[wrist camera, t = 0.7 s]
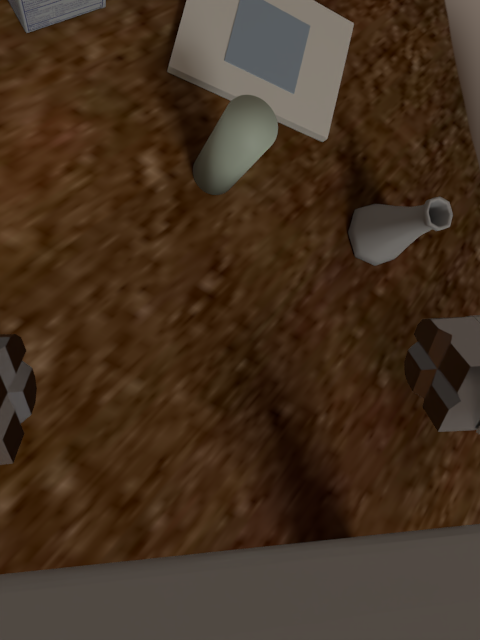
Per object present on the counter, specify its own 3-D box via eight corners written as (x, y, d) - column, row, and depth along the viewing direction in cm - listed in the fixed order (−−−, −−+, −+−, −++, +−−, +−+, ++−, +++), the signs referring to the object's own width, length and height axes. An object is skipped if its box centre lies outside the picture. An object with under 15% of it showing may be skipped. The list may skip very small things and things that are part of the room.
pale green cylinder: (188, 186, 41) (218, 138, 31) (198, 145, 42) (232, 85, 31) (228, 200, 43) (270, 160, 32) (238, 161, 43) (283, 108, 33)
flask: (398, 207, 50) (468, 179, 40) (398, 267, 50) (469, 253, 40) (346, 201, 47) (408, 170, 38) (347, 264, 47) (409, 249, 38)
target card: (167, 71, 41) (168, 65, 40) (201, -54, 42) (203, -64, 41) (322, 142, 46) (327, 137, 45) (348, 29, 48) (354, 22, 47)
